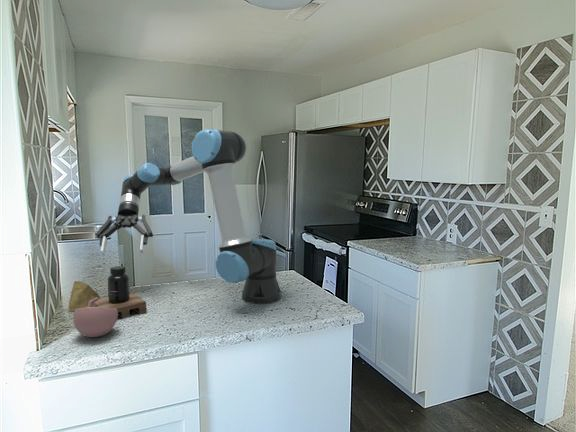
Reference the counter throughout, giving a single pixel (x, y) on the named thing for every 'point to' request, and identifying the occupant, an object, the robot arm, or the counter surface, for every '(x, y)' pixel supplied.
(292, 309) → the counter surface
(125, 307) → the block
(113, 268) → the supplement bottle
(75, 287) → the rock
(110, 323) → the mortar and pestle
